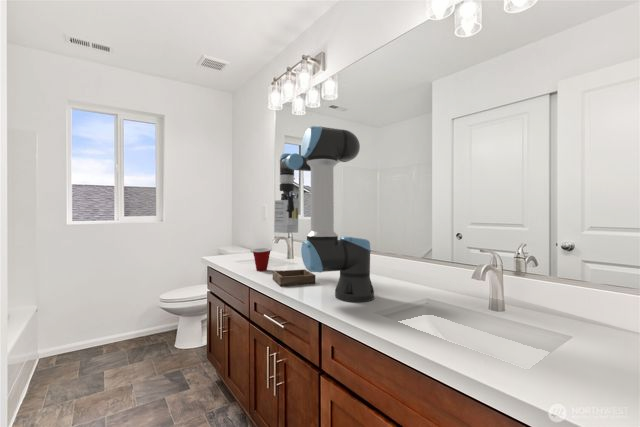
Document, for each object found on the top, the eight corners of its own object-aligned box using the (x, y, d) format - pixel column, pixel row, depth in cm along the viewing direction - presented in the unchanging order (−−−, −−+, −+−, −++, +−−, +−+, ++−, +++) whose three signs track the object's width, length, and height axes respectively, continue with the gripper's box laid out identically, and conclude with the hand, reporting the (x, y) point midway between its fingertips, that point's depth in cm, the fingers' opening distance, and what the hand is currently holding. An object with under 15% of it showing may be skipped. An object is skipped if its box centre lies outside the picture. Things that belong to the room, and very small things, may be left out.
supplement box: (287, 233, 155) (287, 199, 155) (273, 232, 160) (273, 200, 160) (298, 232, 163) (299, 200, 163) (285, 231, 168) (285, 201, 168)
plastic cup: (247, 270, 172) (248, 248, 172) (264, 267, 179) (264, 247, 179) (257, 272, 164) (258, 250, 164) (274, 270, 171) (275, 249, 171)
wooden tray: (315, 283, 140) (315, 275, 140) (280, 286, 134) (280, 277, 134) (304, 277, 154) (304, 269, 154) (272, 279, 148) (272, 271, 148)
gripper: (300, 181, 151) (300, 225, 151) (287, 185, 174) (287, 223, 174) (286, 180, 148) (285, 225, 148) (274, 185, 171) (274, 223, 171)
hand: (286, 224), depth 161 cm, fingers closed on supplement box, 12 cm apart
